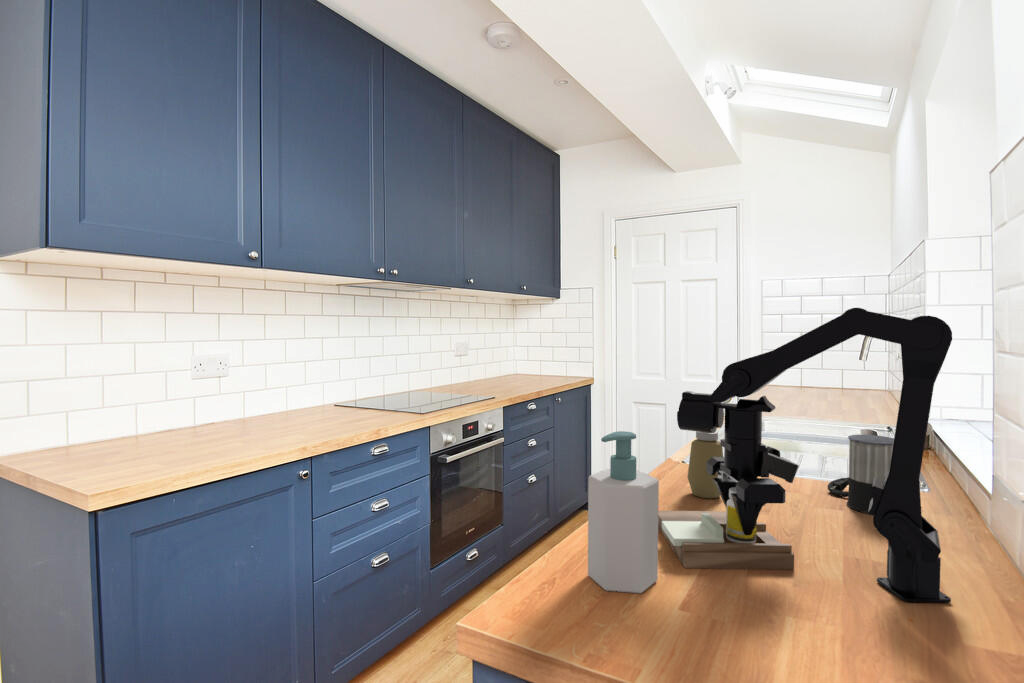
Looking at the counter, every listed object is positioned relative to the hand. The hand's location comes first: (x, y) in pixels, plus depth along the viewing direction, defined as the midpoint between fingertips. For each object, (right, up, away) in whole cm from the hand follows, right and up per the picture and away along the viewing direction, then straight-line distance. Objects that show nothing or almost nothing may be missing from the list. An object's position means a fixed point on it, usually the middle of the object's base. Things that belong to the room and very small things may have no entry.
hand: (741, 529), depth 94 cm
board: (-2, -4, +4) cm, 6 cm away
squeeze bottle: (+5, -3, +32) cm, 33 cm away
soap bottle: (-22, -5, -9) cm, 24 cm away
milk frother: (+37, -4, +28) cm, 46 cm away
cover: (-8, -1, 0) cm, 8 cm away
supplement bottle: (0, -2, 0) cm, 2 cm away
